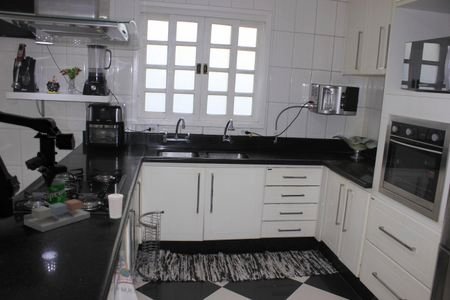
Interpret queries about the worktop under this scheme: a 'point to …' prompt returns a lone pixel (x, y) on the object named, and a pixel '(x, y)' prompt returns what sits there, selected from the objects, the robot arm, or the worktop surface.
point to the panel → (55, 220)
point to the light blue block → (58, 208)
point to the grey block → (41, 212)
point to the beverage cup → (115, 204)
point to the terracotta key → (73, 204)
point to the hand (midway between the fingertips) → (48, 186)
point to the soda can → (56, 191)
